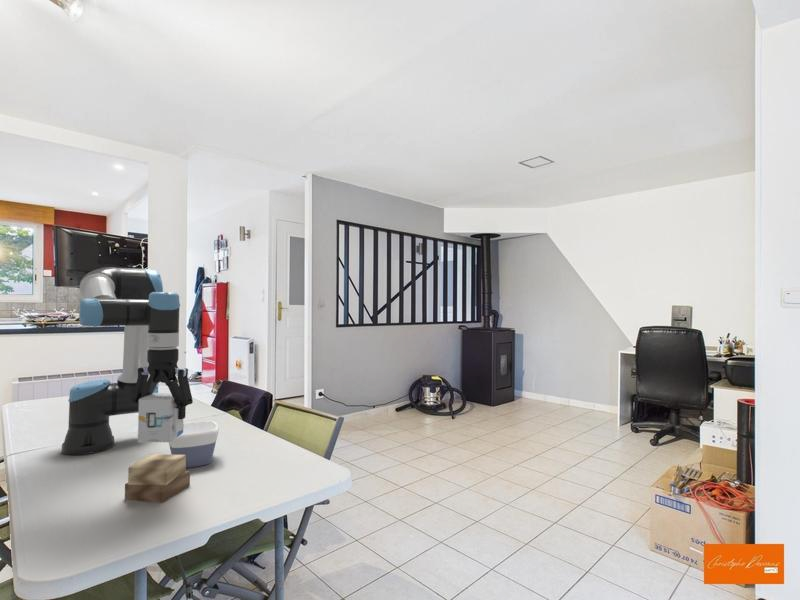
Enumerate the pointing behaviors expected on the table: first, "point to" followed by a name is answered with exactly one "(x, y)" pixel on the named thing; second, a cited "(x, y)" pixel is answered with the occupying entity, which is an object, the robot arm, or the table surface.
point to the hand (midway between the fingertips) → (161, 429)
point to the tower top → (156, 469)
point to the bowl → (196, 443)
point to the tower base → (157, 490)
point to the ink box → (157, 418)
